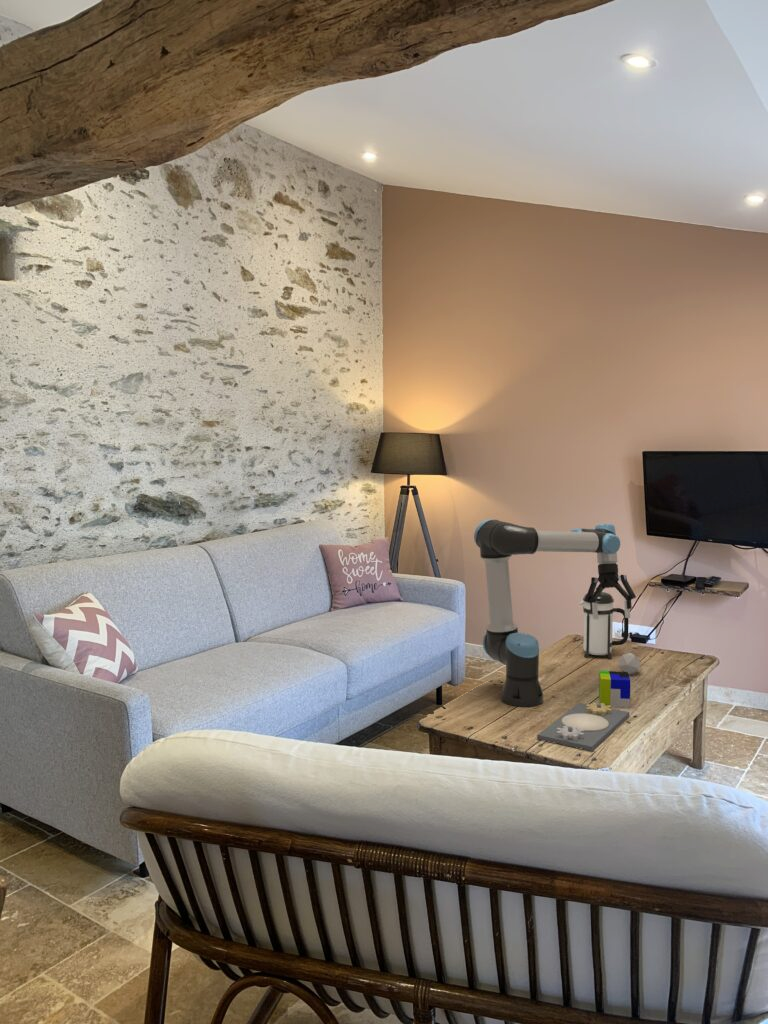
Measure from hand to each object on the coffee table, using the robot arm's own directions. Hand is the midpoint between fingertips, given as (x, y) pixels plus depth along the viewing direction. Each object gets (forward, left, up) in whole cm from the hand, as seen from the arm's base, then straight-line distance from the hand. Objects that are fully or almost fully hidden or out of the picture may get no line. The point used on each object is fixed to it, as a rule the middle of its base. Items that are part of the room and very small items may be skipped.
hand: (611, 618), depth 315 cm
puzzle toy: (-12, -21, -25) cm, 35 cm away
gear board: (-35, -39, -25) cm, 58 cm away
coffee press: (+16, +33, -25) cm, 44 cm away
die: (+13, +7, -25) cm, 29 cm away
